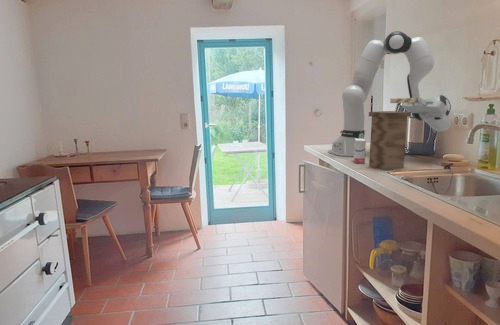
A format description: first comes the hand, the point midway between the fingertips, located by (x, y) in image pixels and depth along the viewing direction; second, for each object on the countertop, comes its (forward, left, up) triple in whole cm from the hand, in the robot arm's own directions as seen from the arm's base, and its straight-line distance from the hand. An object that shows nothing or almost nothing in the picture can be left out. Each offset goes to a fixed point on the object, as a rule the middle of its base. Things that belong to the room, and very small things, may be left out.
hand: (414, 98), depth 169 cm
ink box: (-16, -18, -32) cm, 40 cm away
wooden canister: (0, -17, -32) cm, 36 cm away
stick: (0, -6, -2) cm, 7 cm away
